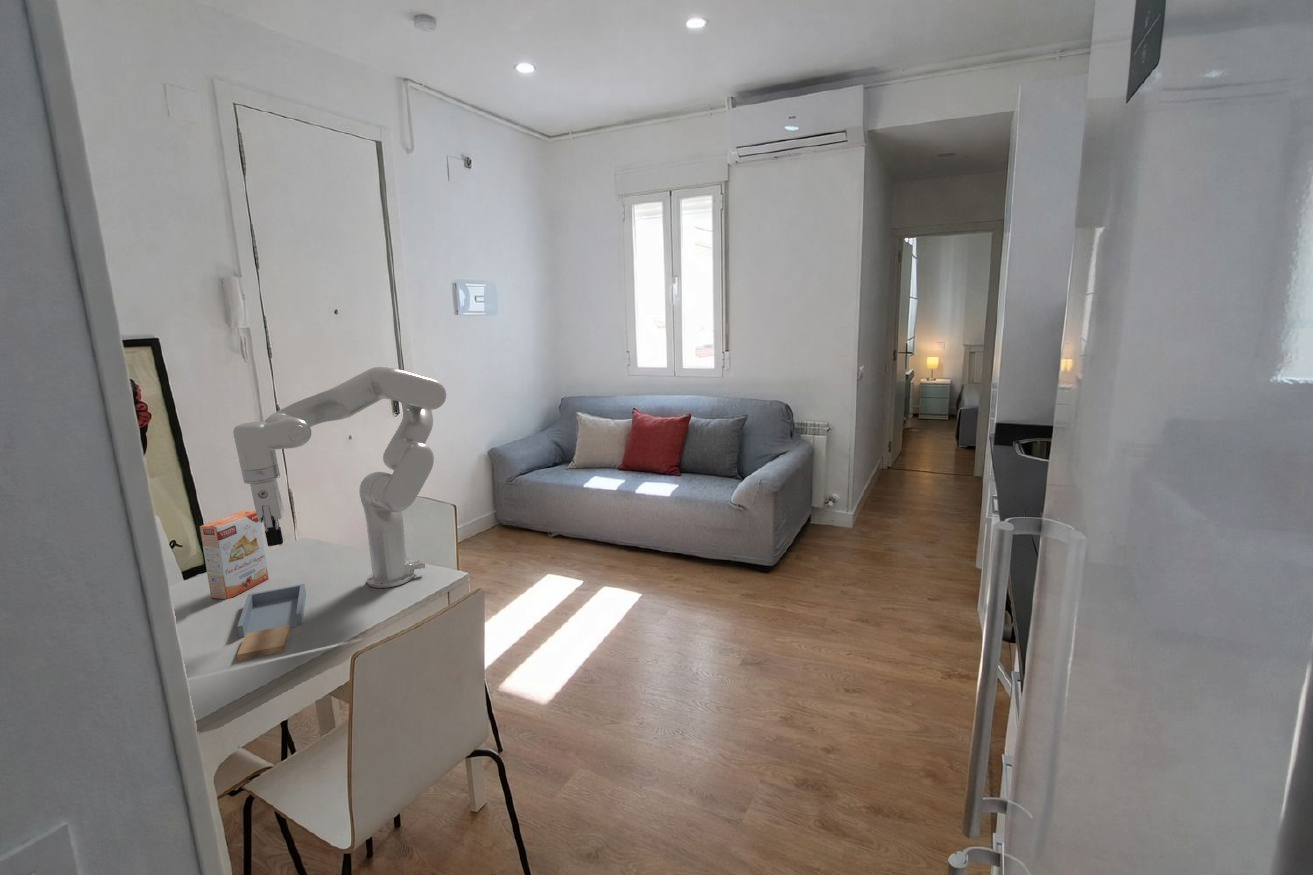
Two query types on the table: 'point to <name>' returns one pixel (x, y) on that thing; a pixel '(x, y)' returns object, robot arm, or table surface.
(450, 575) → the table surface
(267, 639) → the tan square slab
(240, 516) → the cracker box
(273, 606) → the blue-grey open-ended tray
